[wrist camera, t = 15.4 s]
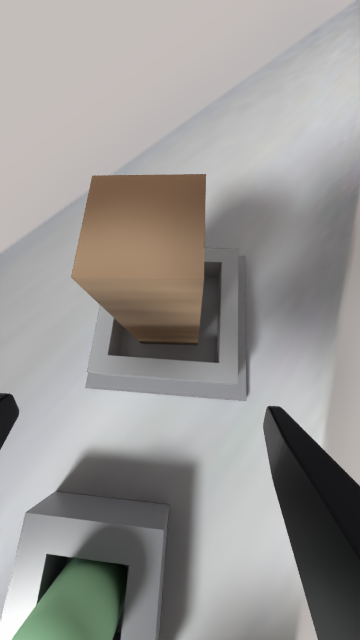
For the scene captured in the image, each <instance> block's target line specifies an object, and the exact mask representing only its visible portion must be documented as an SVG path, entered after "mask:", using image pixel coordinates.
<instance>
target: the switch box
mask: <svg viewBox="0 0 360 640" xmlns="http://www.w3.org/2000/svg"><path fill="white" fill-rule="evenodd" d="M168 515H169V505H166V504H158V503H149V502H141V501H132V500H124V499H115V498H107V497H98V496H90V495H81V494H73V493H64V492H56V491H55V492H54V493H52V494H51V495H50V496H48V497H47V498H45V499H44V500H43V501H41V502H40V503H38V504H37V505H36V506H34V507H33V508H31V509H30V510H29V511H27V512H26V513H25V517H24V522H23V526H22V530H21V535H20V539H19V543H18V548H17V552H16V557H15V561H14V565H13V570H12V574H11V578H10V583H9V587H8V591H7V596H6V600H5V605H4V609H3V613H2V618H1V622H0V640H12V638H13V636H14V635H15V633H16V632H17V631H18V629H19V628H20V627H21V625H22V624H23V623H24V621H25V620H26V619H27V617H28V616H29V615H30V613H31V612H32V610H33V609H34V608H35V606H36V605H37V604H38V602H39V601H40V600H41V598H42V597H43V596H44V594H45V593H46V592H47V590H48V589H49V587H50V586H51V585H52V583H53V582H54V581H55V579H56V578H57V577H58V575H59V574H60V573H61V571H62V570H63V569H64V567H65V566H66V564H67V563H68V562H69V560H70V559H71V558H72V557H73V558H81V559H88V560H95V561H102V562H109V563H116V564H123V565H124V566H125V569H126V573H127V587H126V596H125V603H124V606H123V609H122V612H121V615H120V618H119V621H118V624H117V627H116V631H115V634H114V637H113V640H159V633H160V620H161V607H162V594H163V581H164V568H165V554H166V541H167V528H168Z"/></svg>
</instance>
